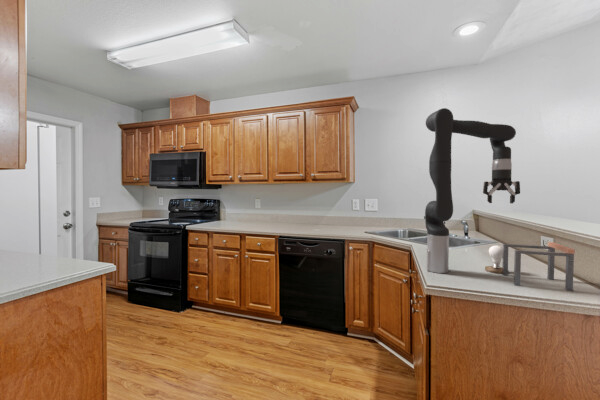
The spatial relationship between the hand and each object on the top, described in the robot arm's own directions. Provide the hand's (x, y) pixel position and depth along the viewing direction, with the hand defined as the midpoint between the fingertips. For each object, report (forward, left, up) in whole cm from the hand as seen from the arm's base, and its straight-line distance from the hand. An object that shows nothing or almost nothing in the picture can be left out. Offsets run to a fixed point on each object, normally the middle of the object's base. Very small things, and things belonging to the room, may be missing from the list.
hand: (500, 203), depth 133 cm
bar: (+16, -16, -18) cm, 29 cm away
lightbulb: (-2, -3, -31) cm, 31 cm away
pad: (-2, -3, -32) cm, 32 cm away
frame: (+8, -16, -32) cm, 37 cm away
